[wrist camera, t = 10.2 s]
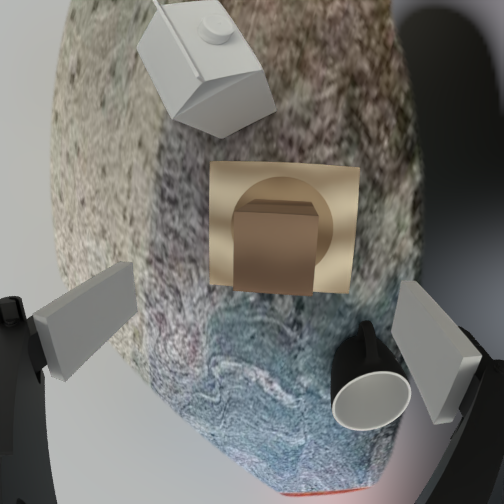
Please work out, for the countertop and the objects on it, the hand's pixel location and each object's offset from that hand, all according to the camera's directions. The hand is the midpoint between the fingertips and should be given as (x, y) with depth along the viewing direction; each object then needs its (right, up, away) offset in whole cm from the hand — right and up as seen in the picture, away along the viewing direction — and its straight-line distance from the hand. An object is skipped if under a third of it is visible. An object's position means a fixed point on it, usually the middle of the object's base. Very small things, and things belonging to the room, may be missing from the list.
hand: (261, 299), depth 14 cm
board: (+3, +5, +21) cm, 22 cm away
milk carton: (-2, +20, +18) cm, 27 cm away
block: (+3, +5, +19) cm, 20 cm away
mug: (+14, -10, +24) cm, 29 cm away
